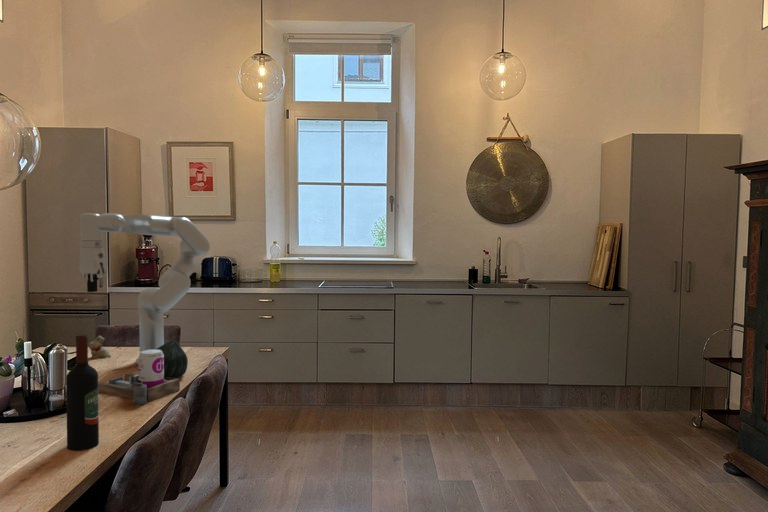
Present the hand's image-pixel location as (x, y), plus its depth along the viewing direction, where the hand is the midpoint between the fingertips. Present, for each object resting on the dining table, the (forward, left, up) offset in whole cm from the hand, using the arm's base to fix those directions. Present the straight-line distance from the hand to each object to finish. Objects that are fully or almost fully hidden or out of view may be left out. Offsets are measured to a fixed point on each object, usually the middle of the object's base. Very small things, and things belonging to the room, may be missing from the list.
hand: (92, 291), depth 216 cm
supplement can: (+9, +41, -32) cm, 53 cm away
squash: (-8, +31, -32) cm, 45 cm away
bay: (+11, +34, -32) cm, 48 cm away
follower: (+9, +29, -32) cm, 44 cm away
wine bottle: (+50, +59, -32) cm, 84 cm away
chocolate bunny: (-17, -17, -32) cm, 40 cm away
